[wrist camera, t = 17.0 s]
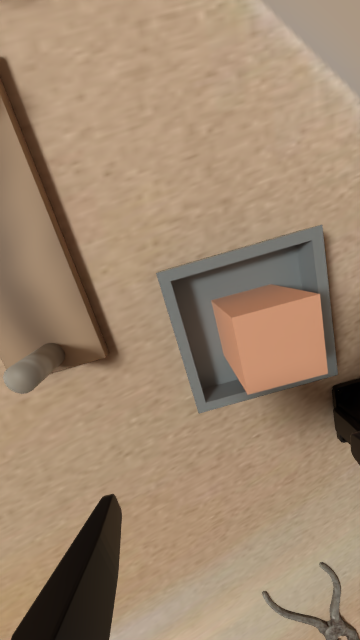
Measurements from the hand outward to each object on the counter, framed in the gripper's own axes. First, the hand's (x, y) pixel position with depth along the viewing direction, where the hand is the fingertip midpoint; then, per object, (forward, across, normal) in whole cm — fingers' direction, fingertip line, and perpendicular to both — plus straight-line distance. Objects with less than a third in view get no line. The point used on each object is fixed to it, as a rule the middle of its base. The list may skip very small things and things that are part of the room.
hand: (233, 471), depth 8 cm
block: (+11, -5, -2) cm, 12 cm away
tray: (+12, -5, -2) cm, 13 cm away
